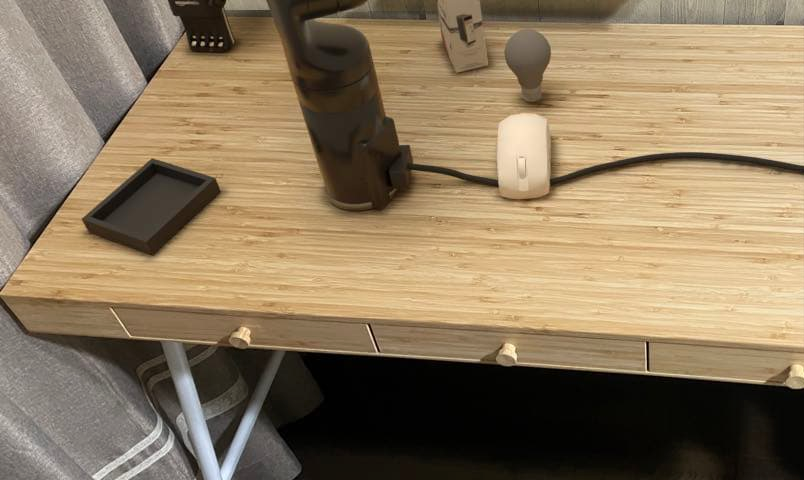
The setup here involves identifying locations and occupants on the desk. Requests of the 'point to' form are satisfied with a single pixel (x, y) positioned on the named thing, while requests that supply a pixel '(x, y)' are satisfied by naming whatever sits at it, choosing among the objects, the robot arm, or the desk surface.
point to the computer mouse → (524, 156)
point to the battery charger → (203, 25)
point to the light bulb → (528, 61)
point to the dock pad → (151, 206)
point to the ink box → (463, 33)
